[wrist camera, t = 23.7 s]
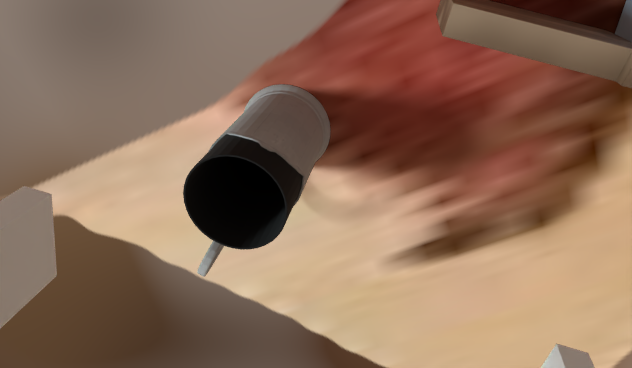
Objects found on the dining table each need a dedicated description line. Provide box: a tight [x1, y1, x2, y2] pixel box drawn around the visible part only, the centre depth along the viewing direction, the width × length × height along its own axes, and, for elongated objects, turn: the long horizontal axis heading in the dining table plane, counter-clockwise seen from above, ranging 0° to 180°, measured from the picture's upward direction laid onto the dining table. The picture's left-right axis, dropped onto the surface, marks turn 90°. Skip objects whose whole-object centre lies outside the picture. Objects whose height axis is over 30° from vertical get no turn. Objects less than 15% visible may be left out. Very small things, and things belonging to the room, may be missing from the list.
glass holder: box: [183, 84, 331, 276], centre depth 40 cm, size 9×14×15 cm, turn 153°
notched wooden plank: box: [436, 0, 632, 88], centre depth 33 cm, size 2×15×11 cm, turn 77°
